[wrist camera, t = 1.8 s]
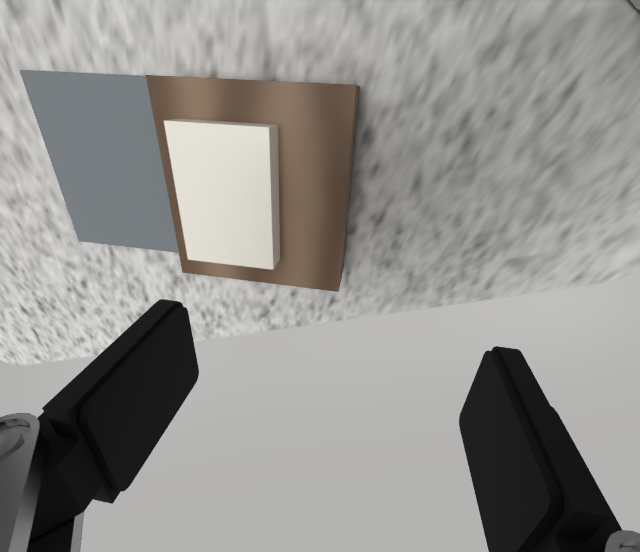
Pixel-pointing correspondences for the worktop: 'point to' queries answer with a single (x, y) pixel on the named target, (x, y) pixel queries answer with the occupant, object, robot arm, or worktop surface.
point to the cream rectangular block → (227, 190)
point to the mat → (105, 156)
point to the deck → (294, 166)
